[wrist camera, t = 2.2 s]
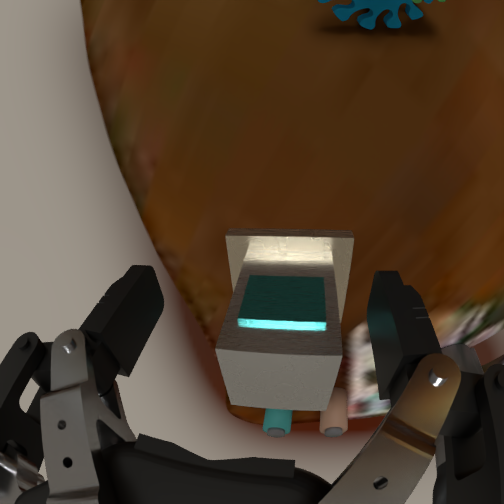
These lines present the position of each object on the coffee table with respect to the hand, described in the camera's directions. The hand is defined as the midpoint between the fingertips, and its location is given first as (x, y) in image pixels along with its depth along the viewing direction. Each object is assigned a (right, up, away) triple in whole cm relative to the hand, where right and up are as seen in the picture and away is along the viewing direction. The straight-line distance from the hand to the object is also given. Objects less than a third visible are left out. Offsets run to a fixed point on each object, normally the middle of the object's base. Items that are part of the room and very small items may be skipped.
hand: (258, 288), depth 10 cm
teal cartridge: (+5, -23, +34) cm, 41 cm away
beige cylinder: (+14, -23, +32) cm, 41 cm away
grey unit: (+4, -1, +20) cm, 20 cm away
